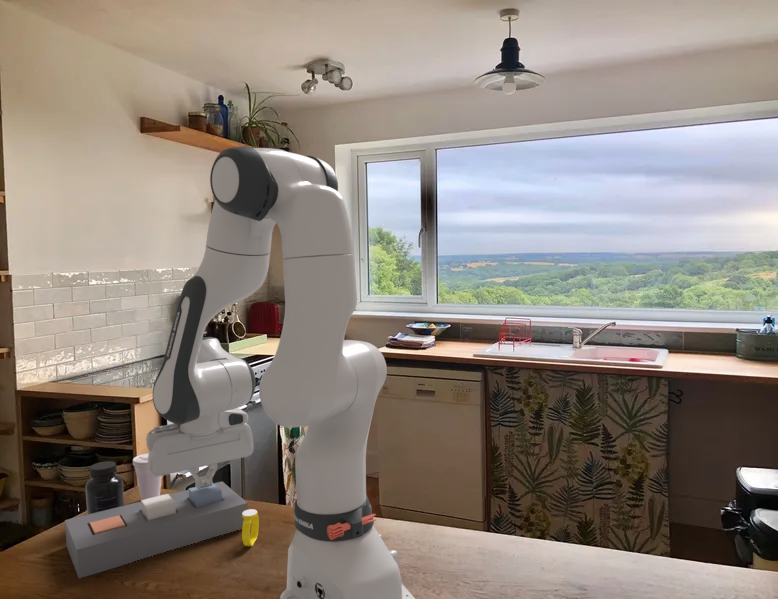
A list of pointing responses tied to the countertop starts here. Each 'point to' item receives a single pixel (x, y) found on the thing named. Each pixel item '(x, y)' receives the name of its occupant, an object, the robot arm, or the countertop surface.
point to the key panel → (150, 531)
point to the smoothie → (146, 478)
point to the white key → (158, 507)
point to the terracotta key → (106, 525)
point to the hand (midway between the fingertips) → (204, 486)
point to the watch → (249, 519)
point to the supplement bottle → (104, 488)
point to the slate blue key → (204, 495)
